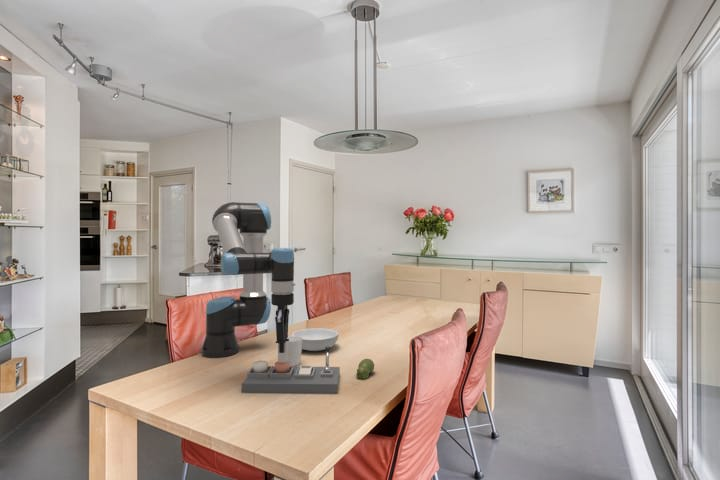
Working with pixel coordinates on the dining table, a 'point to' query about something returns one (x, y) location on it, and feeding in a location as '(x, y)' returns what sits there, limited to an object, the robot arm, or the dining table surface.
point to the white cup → (294, 350)
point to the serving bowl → (317, 338)
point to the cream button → (260, 366)
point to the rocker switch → (305, 370)
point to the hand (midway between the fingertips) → (282, 361)
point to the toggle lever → (327, 360)
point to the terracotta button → (282, 367)
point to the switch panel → (292, 381)
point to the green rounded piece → (365, 368)
